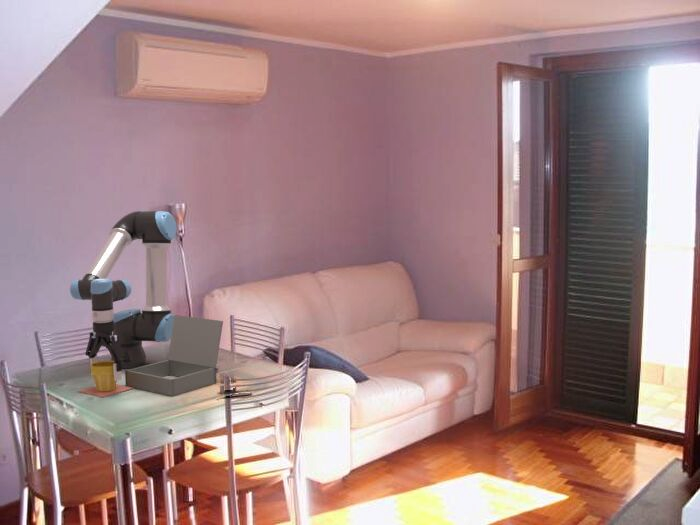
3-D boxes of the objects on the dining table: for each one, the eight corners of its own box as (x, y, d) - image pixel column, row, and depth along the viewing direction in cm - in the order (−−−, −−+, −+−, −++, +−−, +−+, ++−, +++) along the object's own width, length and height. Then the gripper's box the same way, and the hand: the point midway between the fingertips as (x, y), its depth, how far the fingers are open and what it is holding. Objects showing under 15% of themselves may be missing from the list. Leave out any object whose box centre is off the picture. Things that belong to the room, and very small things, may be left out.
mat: (78, 392, 289) (78, 390, 289) (110, 383, 300) (110, 382, 300) (102, 397, 281) (102, 396, 281) (133, 388, 292) (133, 387, 292)
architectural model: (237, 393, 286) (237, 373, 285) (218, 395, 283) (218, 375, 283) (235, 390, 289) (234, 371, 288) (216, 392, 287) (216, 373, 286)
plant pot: (116, 384, 298) (115, 359, 297) (124, 390, 289) (123, 364, 288) (88, 388, 292) (87, 362, 291) (95, 394, 283) (94, 368, 282)
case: (125, 386, 296) (122, 324, 294) (178, 371, 318) (176, 314, 315) (172, 396, 281) (169, 331, 279) (225, 380, 303) (223, 320, 300)
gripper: (73, 319, 292) (76, 374, 294) (116, 326, 278) (119, 384, 280) (90, 316, 298) (93, 370, 301) (133, 322, 284) (136, 379, 286)
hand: (106, 377), depth 290 cm, fingers open, 13 cm apart
